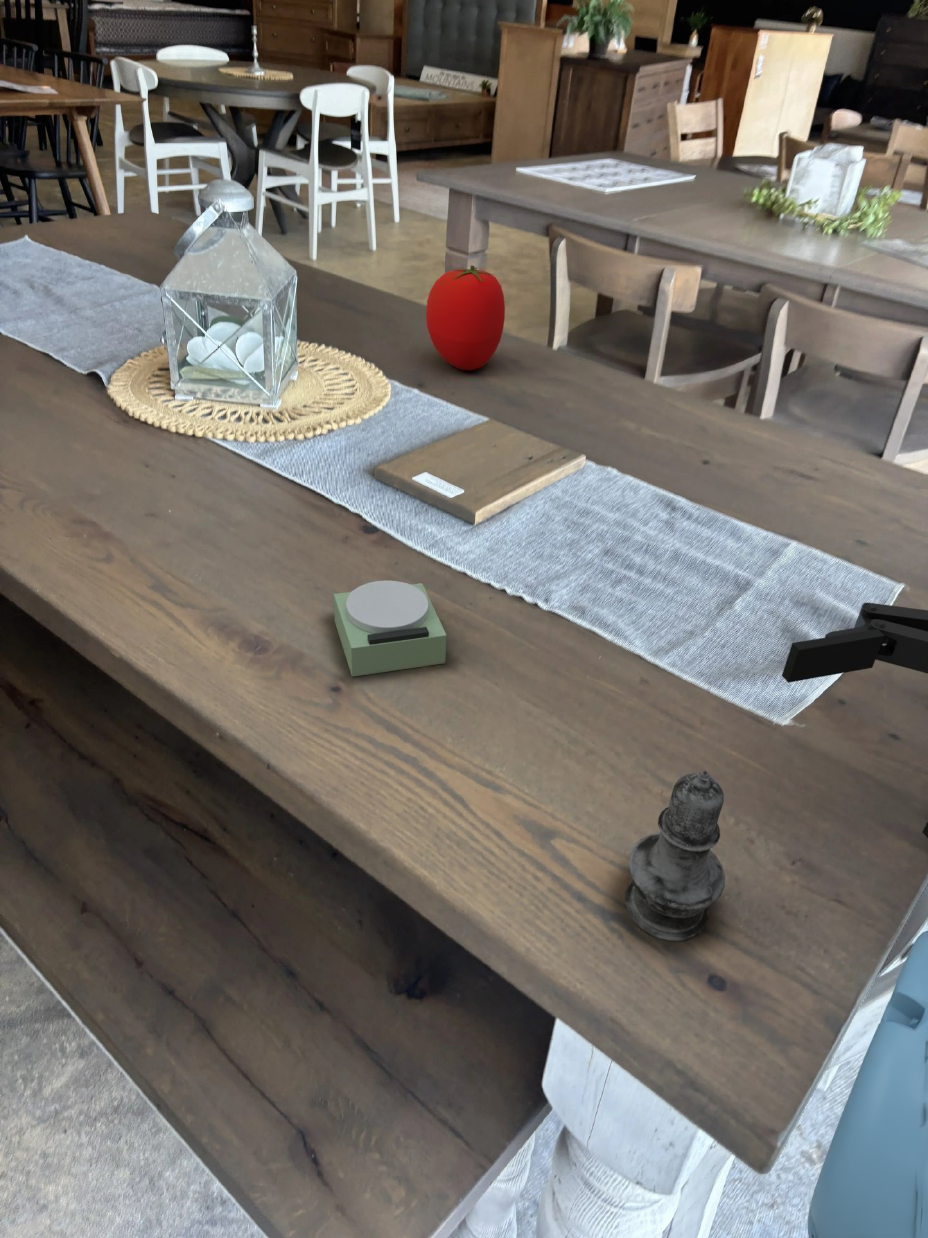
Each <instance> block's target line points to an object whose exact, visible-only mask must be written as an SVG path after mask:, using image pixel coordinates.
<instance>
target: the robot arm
mask: <svg viewBox="0 0 928 1238" xmlns="http://www.w3.org/2000/svg"><path fill="white" fill-rule="evenodd" d="M787 655H788V656H787V658H786V661H785V664H784V666H783V669H782V670H783V671H782V672H781V673H782V674H781V677H782V678H783V680H785V681H786V683H788V684H789V683H794V682H800V681H806V680H811V679H816V678H817V679H818V678H823V677H829V676H834V675H840V674H846V673H851V672H856V671H862V670H868V669H872V668H873V667H874V665H875V663H876V661H879V662H882V663H887V664H891V665H894V666H897V667H901V668H905V669H909V670H912V671H915V672H921V673H924V674H928V609H920V608H913V607H907V606H905V607H904V606H898V605H891V604H890V605H889V604H884V603H874V602H864V603H863V604H862V605H861V607H860V610H859V612H858V616H857V618H856V621H855V623H854V626H853V627H851V628H845V629H839V630H833V631H829V632H827V633H826V634H825V636H824V637H821V638H813V639H808V640H803V641H795V642H792V643H791V645H790V649H789V652H788V654H787ZM921 832H922V834H923V835H924V836H925V838H926V839H928V820H927V822H926V823H925V825H924V827H923V829H922V831H921ZM807 1236H808V1238H928V930H924V931H923V932H921V933H920V934H919V935H918V936H917V938H916V939H915V941H914V943H913V945H912V946H911V949H910V950H909V952H908V954H907V956H906V959H905V960H904V963H903V966H902V967H901V969H900V972H899V974H898V977H897V979H896V982H895V986H894V988H893V990H892V993H891V996H890V999H889V1000H888V1002H887V1004H886V1006H885V1008H884V1011H883V1013H882V1016H881V1018H880V1021H879V1023H878V1024H877V1027H876V1029H875V1031H874V1033H873V1036H872V1038H871V1041H870V1042H869V1045H868V1047H867V1050H866V1052H865V1055H864V1057H863V1059H862V1062H861V1065H860V1067H859V1069H858V1072H857V1075H856V1077H855V1080H854V1083H853V1085H852V1087H851V1090H850V1093H849V1095H848V1097H847V1099H846V1103H845V1104H844V1108H843V1110H842V1113H841V1115H840V1118H839V1121H838V1123H837V1126H836V1128H835V1131H834V1133H833V1135H832V1139H831V1142H830V1144H829V1147H828V1149H827V1153H826V1156H825V1157H824V1161H823V1164H822V1167H821V1169H820V1172H819V1175H818V1178H817V1181H816V1184H815V1187H814V1189H813V1193H812V1197H811V1200H810V1204H809V1208H808V1215H807Z"/></svg>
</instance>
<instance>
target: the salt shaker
mask: <svg viewBox="0 0 928 1238" xmlns="http://www.w3.org/2000/svg"><path fill="white" fill-rule="evenodd" d="M724 802H725V794H724V790H723V788H722V787H721V785H720V784H719V782H718V781H716V780H715V779H714V778H712V777H711V776H710V774H709V773H708V771H707V770H703V771H699V772H690V773H687V774H684V775H682V776H680V777H679V778H678V779H677V780H676V782H675V783H674V785H673V788H672V791H671V796H670V799H669V802H668V806H667V807H665V808H664V809H663V810H662V811H661V812H660V814H659V815H658V819H657V825H658V826H657V827H658V830H659V832H656V833H650V834H649V835H647V836H644V837H643V838H641V839H640V840H639V841H637V842H636V843H635V844H634V845H633V847H632V848H631V851H630V853H629V858H628V868H629V873H630V877H631V879H632V880H631V881H630V882H629V883H628V885H627V887H626V890H625V895H624V903H625V909H626V910H627V913H628V915H629V917H630V919H631V920H632V921H633V922H634V923H635V925H636V926H637V927H638V928H640V929H641V930H642V931H643V932H645V933H646V934H648V935H650V936H652V937H654V938H657V939H658V940H659V939H660V940H662V941H667V942H683V941H687V940H691V939H693V938H695V937H697V936H699V934H700V933H701V932H702V931H703V930H704V929H705V927H706V925H707V923H708V920H709V907H710V906H711V905H712V904H714V903H716V902H717V900H718V899H719V898H720V897H721V896H722V894H723V891H724V890H725V886H726V873H725V870H724V866H723V864H722V863H721V861H720V860H719V858H718V857H717V855H716V854H715V853H714V852H713V851H712V850H711V849H712V848H714V847H715V846H716V845H717V844H718V842H719V840H720V838H721V829H720V826H719V824H718V823H719V818H720V815H721V812H722V808H723V806H724Z"/></svg>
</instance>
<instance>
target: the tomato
mask: <svg viewBox="0 0 928 1238" xmlns="http://www.w3.org/2000/svg"><path fill="white" fill-rule="evenodd" d="M478 268H479V267H478V266H477V267H475V265H473V264H472V265H471V264H470V269H468V268H460V269H459V268H452V269H451V270H450V271H446V272H445V273H442V274H441V276H440V277H439V278H438V279H436V280H435V281H434V283H433V285H432V287H431V288H430V290H429V294H428V297H427V300H426V310H425V318H426V319H425V320H426V321H425V322H426V327H427V332H428V334H429V339H430V340H431V342H432V345H433V347H434V348H435V350H436V352H437V353H438V354H439V356H440V357H442V359H443V360H444V361H445V362H446V363H447V364H448V365H450V366H452V367H454V368H457V369H459V370H460V371H474V370H477V369H479V368H482V367H484V366H485V365H486V364H487V363H488V362H489V361H490V360H491V359H492V357H493V355H494V354H495V352H496V351H497V350H498V346H499V345H500V342H501V339H502V335H503V332H504V326H505V319H506V318H505V317H506V305H505V295H504V292H503V288H502V285H501V283H500V282H499V280H498V279H497V277H496V276H495V273H494V274H493V273H490V272H488V271H486V270H481V269H478Z"/></svg>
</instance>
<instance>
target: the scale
mask: <svg viewBox="0 0 928 1238" xmlns="http://www.w3.org/2000/svg"><path fill="white" fill-rule="evenodd" d="M333 609H334V610H333V613H334V624H335V627H336V630H337V633H338V637H339V639H340V643H341V647H342V649H343V653H344V655H345V659H346V662H347V665H348V669H349V671H350V675H351V677H359V676H366V675H367V676H368V675H374V674H381V673H386V672H395V671H401V670H409V669H415V668H420V667H421V668H422V667H429V666H435V665H442V664H446V654H447V636H448V635H447V633H446V631H445V629H444V627H443V624H442V622H441V621H440V618H439V615H438V614H437V612H436V609H435V607H434V606H433V603H432V601H431V599H430V597H429V594H428V593H427V590H426V589H425V586H424V584H423V583H422V582H421V583H412V584H410V583H406V582H404V581H399V580H376V581H370V582H367V583H364V584H362V585H360V586H357V587H356V588H355V589H353V590H352V591H347V592H338V593H333Z"/></svg>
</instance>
